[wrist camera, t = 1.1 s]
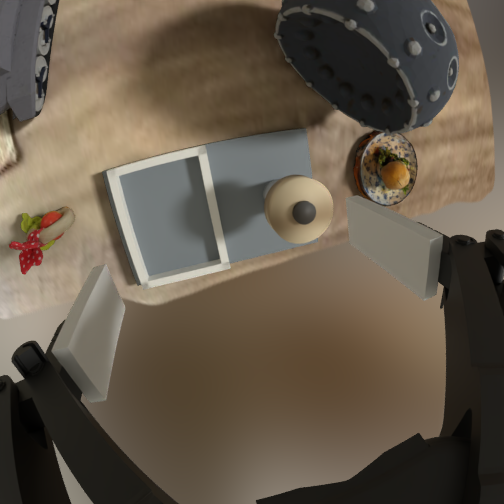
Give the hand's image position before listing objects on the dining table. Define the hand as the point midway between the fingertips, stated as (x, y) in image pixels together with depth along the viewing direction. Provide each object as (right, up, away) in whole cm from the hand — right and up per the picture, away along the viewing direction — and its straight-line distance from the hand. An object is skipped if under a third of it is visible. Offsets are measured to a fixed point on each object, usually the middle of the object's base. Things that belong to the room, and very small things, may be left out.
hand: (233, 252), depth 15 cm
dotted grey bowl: (+11, +25, +18) cm, 33 cm away
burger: (+21, +13, +26) cm, 36 cm away
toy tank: (-33, +28, +7) cm, 44 cm away
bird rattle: (-26, +5, +18) cm, 32 cm away
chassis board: (-4, +6, +23) cm, 24 cm away
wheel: (+6, +5, +17) cm, 19 cm away
